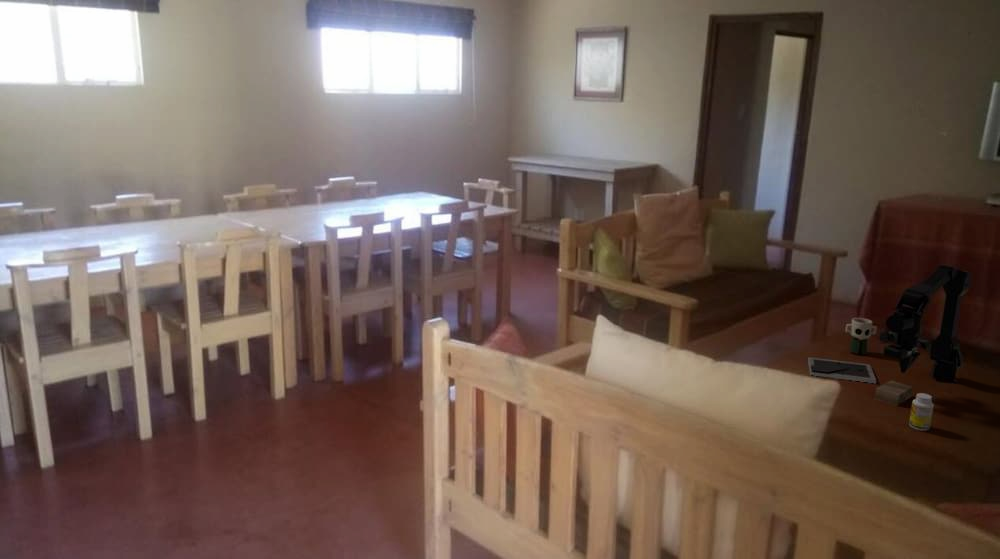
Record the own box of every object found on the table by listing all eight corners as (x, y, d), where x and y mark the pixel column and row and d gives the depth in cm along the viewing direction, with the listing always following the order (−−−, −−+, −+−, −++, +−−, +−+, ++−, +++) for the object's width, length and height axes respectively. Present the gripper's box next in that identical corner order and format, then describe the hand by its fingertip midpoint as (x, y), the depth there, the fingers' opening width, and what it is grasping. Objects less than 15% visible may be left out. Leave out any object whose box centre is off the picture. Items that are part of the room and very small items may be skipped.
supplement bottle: (910, 421, 225) (916, 390, 223) (931, 426, 222) (937, 395, 219) (906, 427, 221) (911, 396, 219) (927, 433, 218) (933, 401, 215)
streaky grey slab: (891, 380, 247) (876, 388, 241) (913, 386, 242) (898, 395, 235) (889, 391, 248) (874, 399, 242) (911, 398, 243) (896, 406, 236)
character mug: (844, 354, 281) (849, 322, 278) (840, 348, 288) (844, 316, 285) (875, 357, 279) (880, 324, 276) (870, 350, 286) (875, 318, 283)
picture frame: (810, 377, 260) (875, 385, 254) (811, 370, 259) (876, 378, 253) (807, 362, 275) (869, 369, 268) (808, 355, 274) (870, 362, 268)
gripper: (902, 316, 250) (895, 359, 254) (870, 325, 240) (863, 370, 244) (935, 325, 241) (927, 370, 245) (904, 335, 231) (896, 381, 235)
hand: (903, 372), depth 242 cm, fingers closed
